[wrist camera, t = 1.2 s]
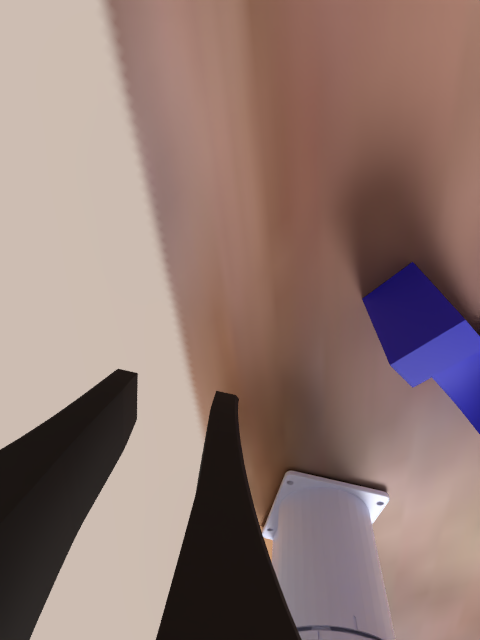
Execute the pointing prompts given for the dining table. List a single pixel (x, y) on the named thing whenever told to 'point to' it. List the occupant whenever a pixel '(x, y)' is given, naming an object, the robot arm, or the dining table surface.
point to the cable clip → (427, 338)
